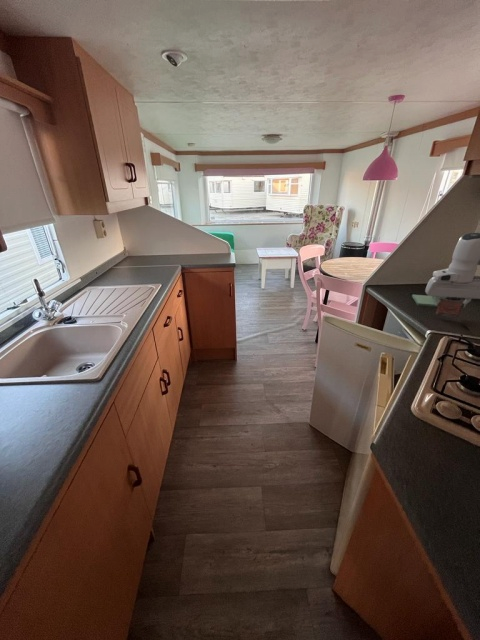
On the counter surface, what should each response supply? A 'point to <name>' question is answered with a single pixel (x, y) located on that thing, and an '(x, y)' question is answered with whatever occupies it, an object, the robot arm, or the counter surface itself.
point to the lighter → (449, 306)
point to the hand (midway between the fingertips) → (449, 306)
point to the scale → (425, 300)
